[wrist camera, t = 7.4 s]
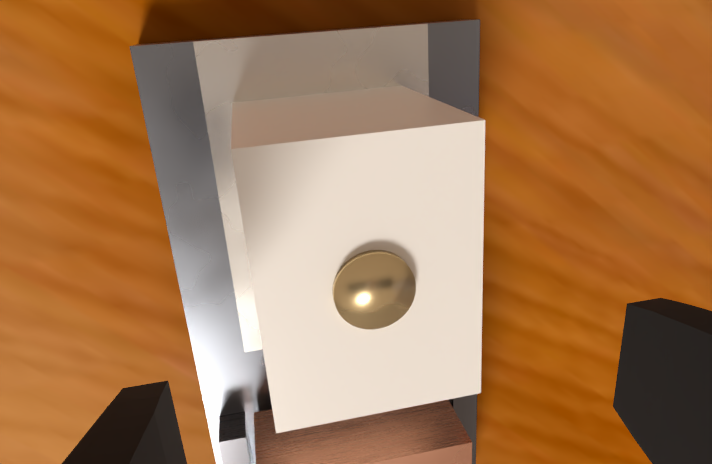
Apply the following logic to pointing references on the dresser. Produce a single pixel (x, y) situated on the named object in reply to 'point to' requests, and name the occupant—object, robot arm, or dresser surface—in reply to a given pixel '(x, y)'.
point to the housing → (362, 249)
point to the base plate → (218, 183)
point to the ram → (369, 439)
